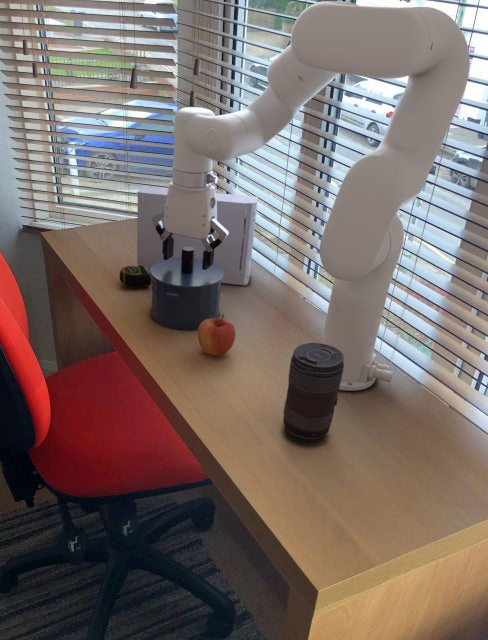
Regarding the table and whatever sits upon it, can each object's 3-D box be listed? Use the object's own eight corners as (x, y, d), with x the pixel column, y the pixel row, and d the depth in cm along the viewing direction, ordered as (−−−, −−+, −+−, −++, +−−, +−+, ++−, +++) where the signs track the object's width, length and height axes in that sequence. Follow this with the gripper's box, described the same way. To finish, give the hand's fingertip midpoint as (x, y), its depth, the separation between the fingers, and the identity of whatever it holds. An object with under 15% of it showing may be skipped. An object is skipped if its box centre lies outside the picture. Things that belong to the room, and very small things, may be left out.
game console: (247, 286, 156) (256, 204, 145) (136, 274, 159) (137, 192, 148) (249, 277, 161) (258, 196, 150) (141, 265, 163) (142, 185, 152)
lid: (231, 269, 141) (233, 242, 138) (212, 296, 129) (214, 267, 126) (164, 258, 145) (165, 231, 141) (139, 283, 132) (139, 255, 129)
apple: (188, 353, 128) (190, 316, 123) (211, 340, 132) (214, 304, 128) (218, 366, 124) (221, 329, 119) (240, 353, 129) (244, 317, 124)
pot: (227, 302, 148) (231, 262, 143) (203, 340, 132) (206, 297, 127) (168, 291, 151) (169, 252, 146) (137, 327, 135) (137, 285, 130)
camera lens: (295, 412, 112) (309, 336, 104) (337, 432, 108) (355, 353, 100) (270, 433, 107) (282, 353, 99) (313, 454, 103) (329, 373, 94)
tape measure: (152, 289, 152) (152, 274, 150) (123, 292, 150) (123, 276, 148) (144, 278, 157) (144, 263, 155) (116, 280, 155) (116, 265, 153)
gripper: (240, 181, 125) (232, 266, 135) (162, 166, 131) (159, 248, 141) (224, 190, 120) (217, 278, 129) (143, 174, 126) (142, 259, 135)
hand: (187, 262), depth 135 cm, fingers open, 8 cm apart
